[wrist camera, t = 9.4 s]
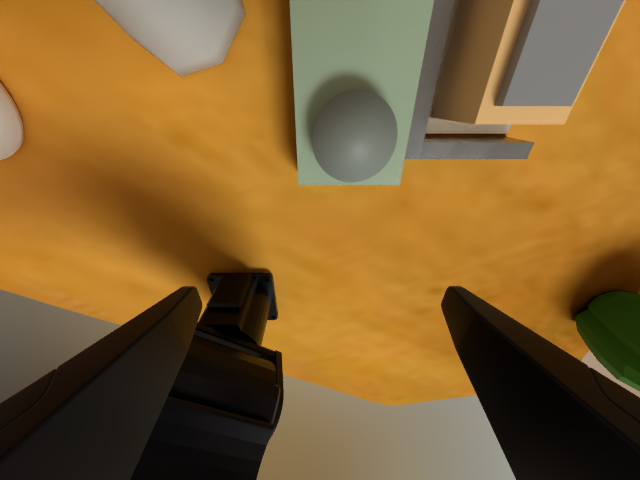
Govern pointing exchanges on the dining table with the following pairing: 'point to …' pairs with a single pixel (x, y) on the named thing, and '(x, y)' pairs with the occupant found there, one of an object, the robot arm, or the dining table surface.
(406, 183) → the dining table surface
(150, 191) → the dining table surface
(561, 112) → the tan and grey block
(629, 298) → the bell pepper
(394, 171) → the sage green knobbed slab
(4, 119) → the milk bottle
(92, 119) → the dining table surface
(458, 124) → the bracket
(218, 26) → the flask
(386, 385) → the dining table surface
